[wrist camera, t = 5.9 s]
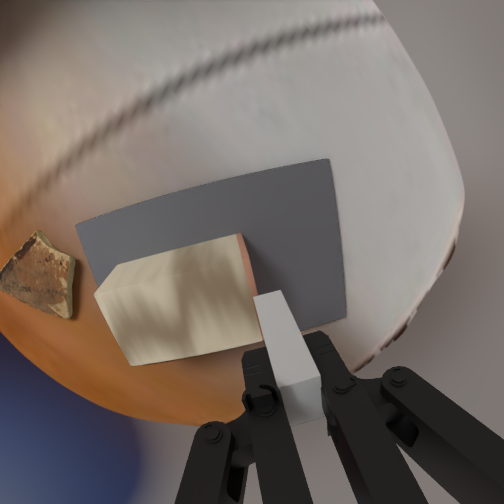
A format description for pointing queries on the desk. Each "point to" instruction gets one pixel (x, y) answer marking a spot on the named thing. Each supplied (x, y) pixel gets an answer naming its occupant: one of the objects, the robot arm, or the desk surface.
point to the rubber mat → (249, 225)
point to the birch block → (182, 302)
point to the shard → (40, 276)
